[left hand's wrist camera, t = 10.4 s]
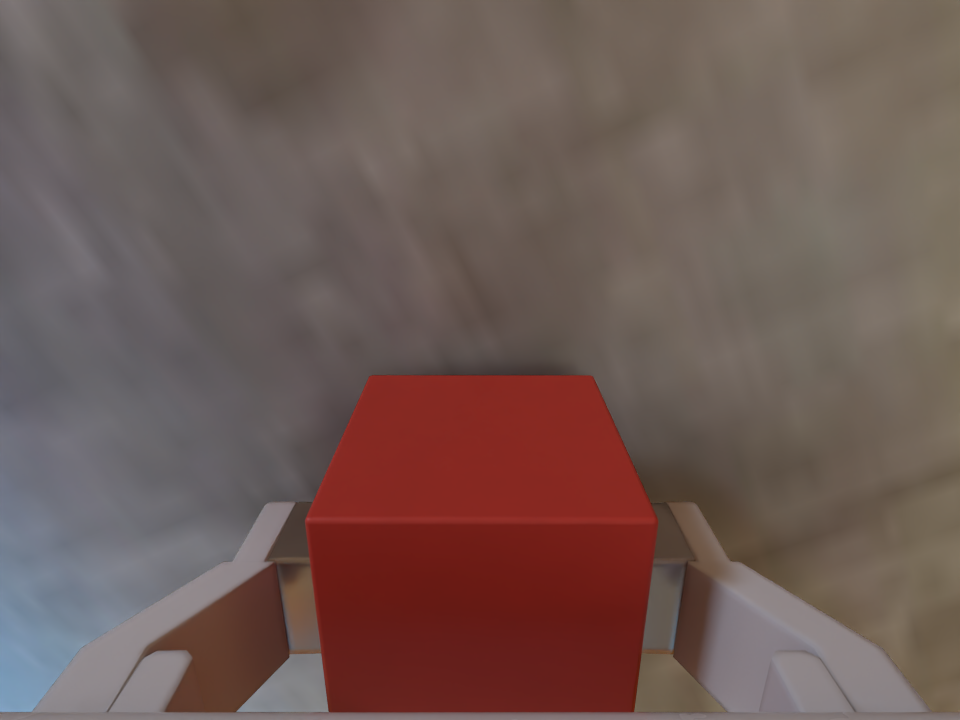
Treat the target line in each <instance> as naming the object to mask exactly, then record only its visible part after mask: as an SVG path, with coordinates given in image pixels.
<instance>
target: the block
mask: <svg viewBox="0 0 960 720" xmlns="http://www.w3.org/2000/svg"><path fill="white" fill-rule="evenodd" d="M658 522H659V521H658V518H657V516H656V514H655V511H654V509H653V507H652V505H651V503H650V500H649V498H648V496H647V494H646V492H645V489H644V487H643V485H642V483H641V481H640V478H639V476H638V474H637V472H636V470H635V468H634V465H633V463H632V461H631V459H630V457H629V454H628V452H627V450H626V448H625V446H624V443H623V441H622V439H621V437H620V435H619V432H618V430H617V428H616V426H615V424H614V421H613V419H612V417H611V415H610V413H609V410H608V408H607V406H606V404H605V402H604V400H603V397H602V395H601V393H600V391H599V389H598V386H597V384H596V382H595V380H594V378H593V376H580V375H372V376H369V378H368V381H367V383H366V385H365V387H364V390H363V392H362V394H361V396H360V398H359V401H358V403H357V405H356V407H355V410H354V412H353V414H352V416H351V418H350V421H349V423H348V425H347V427H346V430H345V432H344V434H343V436H342V438H341V441H340V443H339V445H338V447H337V450H336V452H335V454H334V456H333V459H332V461H331V463H330V465H329V467H328V470H327V472H326V474H325V476H324V479H323V481H322V483H321V485H320V487H319V490H318V492H317V494H316V496H315V499H314V501H313V503H312V505H311V507H310V510H309V512H308V514H307V516H306V519H305V527H306V535H307V543H308V550H309V558H310V566H311V574H312V582H313V590H314V598H315V606H316V614H317V622H318V630H319V638H320V646H321V654H322V662H323V670H324V678H325V686H326V694H327V702H328V710H329V712H634V708H635V700H636V693H637V685H638V677H639V669H640V661H641V654H642V646H643V638H644V630H645V623H646V615H647V607H648V599H649V592H650V584H651V576H652V568H653V561H654V553H655V545H656V537H657V530H658Z"/></svg>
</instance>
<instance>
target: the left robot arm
mask: <svg viewBox="0 0 960 720" xmlns="http://www.w3.org/2000/svg"><path fill="white" fill-rule="evenodd" d="M312 503H313V502H298V503H297V502H269V503H267V504H266V505H265V506H264V507H263V509H262V511H261V512H260V514H259V516H258V518H257V519H256V521H255V523H254V525H253V526H252V528H251V530H250V531H249V533H248V535H247V537H246V538H245V540H244V542H243V544H242V545H241V547H240V549H239V550H238V552H237V554H236V556H235V557H234V559H233V561H232V562H222V563H220V564H219V565H217V566H215V567H214V568H212V569H210V570H209V571H207V572H205V573H204V574H202V575H200V576H199V577H197V578H196V579H194V580H192V581H191V582H189V583H187V584H186V585H184V586H182V587H181V588H179V589H177V590H176V591H174V592H172V593H171V594H169V595H168V596H166V597H164V598H163V599H161V600H159V601H158V602H156V603H154V604H153V605H151V606H149V607H148V608H146V609H144V610H143V611H141V612H140V613H138V614H136V615H135V616H133V617H131V618H130V619H128V620H126V621H125V622H123V623H121V624H120V625H118V626H116V627H115V628H113V629H112V630H110V631H108V632H107V633H105V634H103V635H102V636H100V637H98V638H97V639H95V640H93V641H92V642H90V643H88V644H87V645H85V646H84V647H82V648H81V649H80V650H79V652H78V653H77V654H76V655H75V657H74V658H73V659H72V661H71V662H70V663H69V664H68V666H67V667H66V668H65V670H64V671H63V672H62V674H61V675H60V676H59V677H58V679H57V680H56V681H55V683H54V684H53V685H52V686H51V688H50V689H49V690H48V692H47V693H46V694H45V695H44V697H43V698H42V699H41V701H40V702H39V703H38V704H37V706H36V707H35V708H34V710H33V711H32V712H0V720H960V712H932V711H931V710H930V708H929V707H928V706H927V705H926V703H925V702H924V701H923V699H922V698H921V697H920V696H919V694H918V693H917V692H916V690H915V689H914V688H913V687H912V685H911V684H910V683H909V681H908V680H907V679H906V678H905V676H904V675H903V674H902V672H901V671H900V670H899V668H898V667H897V666H896V665H895V663H894V662H893V661H892V659H891V658H890V657H889V656H888V654H887V653H886V652H885V650H884V649H883V648H881V647H879V646H878V645H876V644H875V643H873V642H871V641H870V640H868V639H866V638H865V637H863V636H861V635H860V634H858V633H856V632H855V631H853V630H851V629H850V628H848V627H847V626H845V625H843V624H842V623H840V622H838V621H837V620H835V619H833V618H832V617H830V616H828V615H827V614H825V613H823V612H822V611H820V610H818V609H817V608H815V607H814V606H812V605H810V604H809V603H807V602H805V601H804V600H802V599H800V598H799V597H797V596H795V595H794V594H792V593H790V592H789V591H787V590H785V589H784V588H782V587H781V586H779V585H777V584H776V583H774V582H772V581H771V580H769V579H767V578H766V577H764V576H762V575H761V574H759V573H757V572H756V571H754V570H753V569H751V568H749V567H748V566H746V565H744V564H743V563H741V562H731V561H730V559H729V558H728V556H727V554H726V553H725V551H724V549H723V548H722V546H721V544H720V543H719V541H718V539H717V537H716V536H715V534H714V532H713V531H712V529H711V527H710V526H709V524H708V522H707V521H706V519H705V517H704V516H703V514H702V512H701V511H700V509H699V507H698V505H697V504H696V503H694V502H692V501H688V502H664V503H651V505H652V507H653V509H654V511H655V514H656V516H657V518H658V521H659V522H658V530H657V537H656V545H655V553H654V561H653V568H652V576H651V584H650V592H649V599H648V607H647V615H646V623H645V630H644V638H643V646H642V653H653V654H673V657H674V658H675V659H676V660H677V661H678V662H679V663H680V664H681V665H682V666H683V667H684V668H685V669H686V670H687V671H688V672H689V673H690V674H691V675H692V676H693V677H694V678H695V679H696V680H697V681H698V682H699V683H700V685H701V686H702V687H703V688H704V689H705V690H706V691H707V692H708V693H709V694H710V695H711V696H712V697H713V698H714V699H715V700H716V701H717V702H718V703H719V704H720V705H721V706H722V707H723V708H724V709H725V710H726V711H727V712H236V711H237V710H238V709H239V708H240V707H241V706H242V705H243V704H244V703H245V702H246V701H247V700H248V699H249V698H250V697H251V696H252V695H253V694H254V693H255V692H256V691H257V690H258V689H259V688H260V687H261V686H262V685H263V684H264V683H265V682H266V681H267V680H268V678H269V677H270V676H271V675H272V674H273V673H274V672H275V671H276V670H277V669H278V668H279V667H280V666H281V665H282V664H283V663H284V662H285V661H286V660H287V659H288V658H289V654H309V653H321V646H320V638H319V630H318V622H317V614H316V606H315V598H314V590H313V582H312V574H311V566H310V558H309V550H308V543H307V535H306V527H305V519H306V516H307V514H308V512H309V510H310V507H311V505H312Z"/></svg>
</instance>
